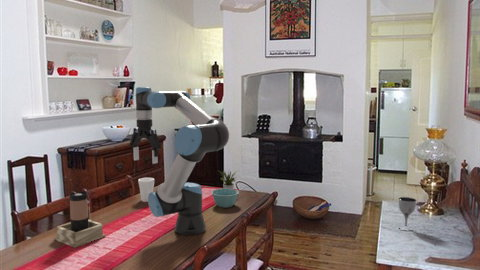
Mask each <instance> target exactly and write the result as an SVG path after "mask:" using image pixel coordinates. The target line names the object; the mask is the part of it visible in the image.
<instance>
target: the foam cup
mask: <svg viewBox="0 0 480 270" xmlns="http://www.w3.org/2000/svg"><path fill="white" fill-rule="evenodd" d="M137 182H138V183H137V184H138V187H139V193H140V199H141V202H142V203H143V202H144V203H145V202H147V203H148V195H149V193H151V192H154V189H155V188H154V187H155V178H153V177H142V178H138V181H137Z"/></svg>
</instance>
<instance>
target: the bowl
mask: <svg viewBox="0 0 480 270" xmlns="http://www.w3.org/2000/svg"><path fill="white" fill-rule="evenodd" d="M211 196H212V197H213V200H214V203H215V205H216V206H217V207H219V208H223V209H225V208H231V207H233V206H234V205H235V204H236V201H237V199H238V196H239V190H237V189H234V188H233V189H226V188H224V187H223V188H217V189H216V188H215V189H214V190H212V191H211Z"/></svg>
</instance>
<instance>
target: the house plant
mask: <svg viewBox="0 0 480 270" xmlns="http://www.w3.org/2000/svg"><path fill="white" fill-rule="evenodd" d="M218 172H220V173H221V176H222V177H220V178H219V179H220V180H222V181H223V182H222V183H223V184H222V187H223V188H226V189H234V187H235V184H234V183H235V182H236V177H234V176H235V175H236V174H237V172H238V171H237V170H236V171H234V172H233V173H232V171H231V170H230V168H229V170H228V173H226V171H225V170H222V172H221V171H219V170H218ZM233 182H234V183H233Z"/></svg>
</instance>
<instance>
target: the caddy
mask: <svg viewBox="0 0 480 270" xmlns="http://www.w3.org/2000/svg"><path fill="white" fill-rule="evenodd" d="M103 227H104V226H103V223H101V222H97V221H94V220H92V219H90V220H89V219H88V228H87V229H84V230H81V231H78V232H74V231H72V230H71V221H70V222H67V223H63V224H61V225H60V224H59V225H57V226H56V234H57V235H56V236H55V237H53V238H54V240H55V241H58V242H60V243H62V244H64V245H67V246H69V247H72V248H78V247H81V246H83V245H86V243H87V244H89V243H91V241H92V242H95V241H97V239H98V240H100V238H101V239H102V238H103V239H104V238H106V237H105V236H107V235H106V234H105V233H104V232H103V230H104V229H103ZM94 240H95V241H94Z"/></svg>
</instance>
